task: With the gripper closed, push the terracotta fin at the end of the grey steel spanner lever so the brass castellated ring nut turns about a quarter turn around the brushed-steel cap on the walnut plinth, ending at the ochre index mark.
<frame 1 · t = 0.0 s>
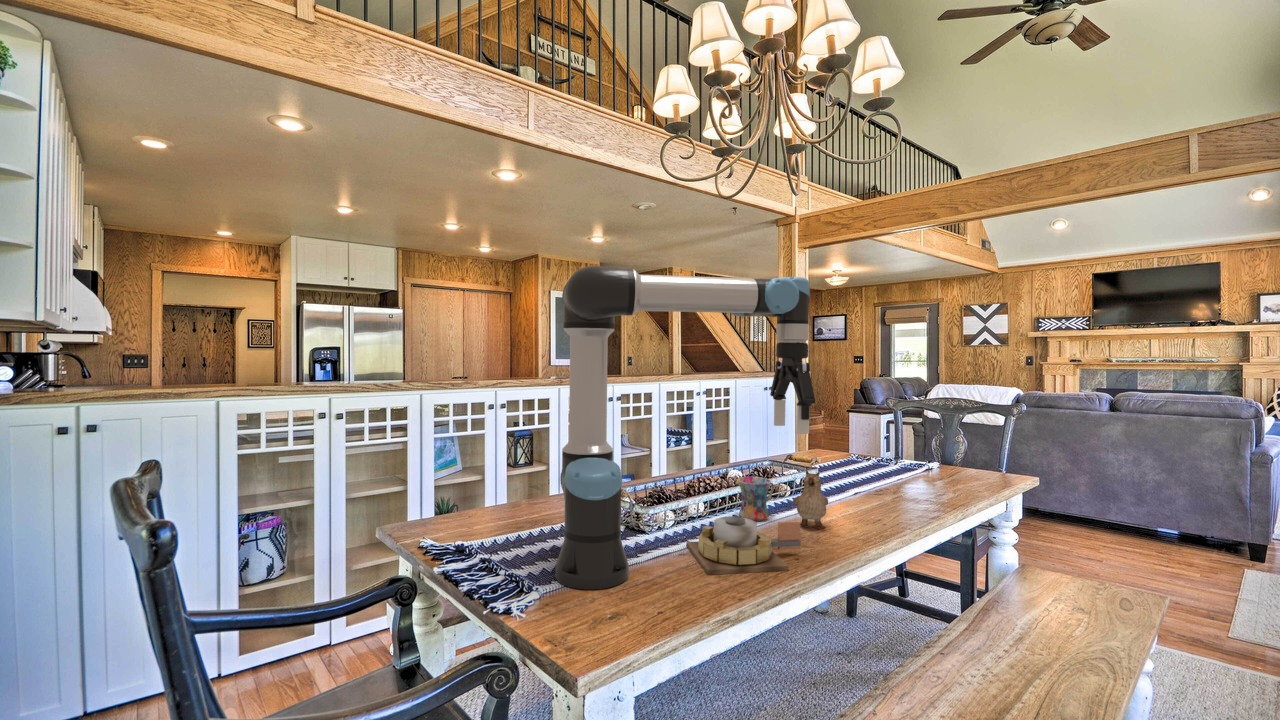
hand: (790, 429, 145), 28 cm above the table, fingers open, 13 cm apart
figurine: (810, 527, 160), on the table
mug: (757, 517, 168), on the table
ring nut: (750, 537, 136), point 4 cm above the table, hinge at 0.0°
housing: (734, 557, 136), on the table
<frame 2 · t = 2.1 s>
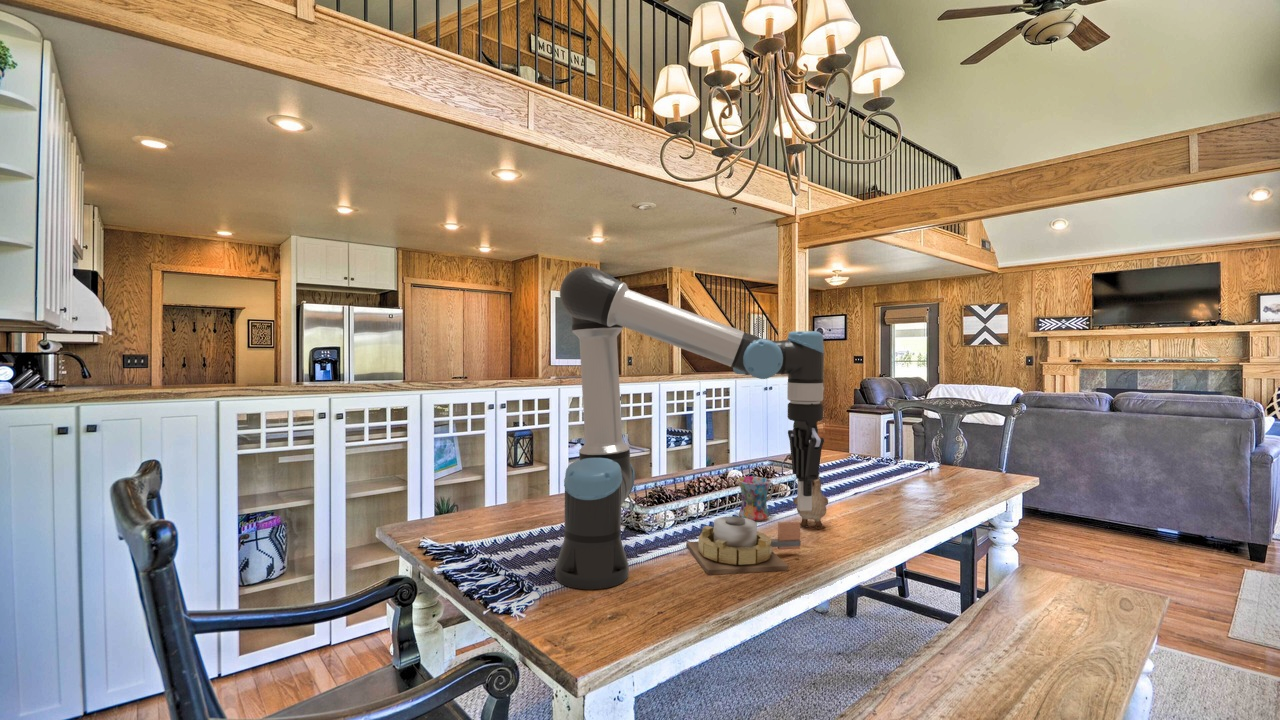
hand: (804, 509, 131), 13 cm above the table, fingers closed
nothing on the table moved.
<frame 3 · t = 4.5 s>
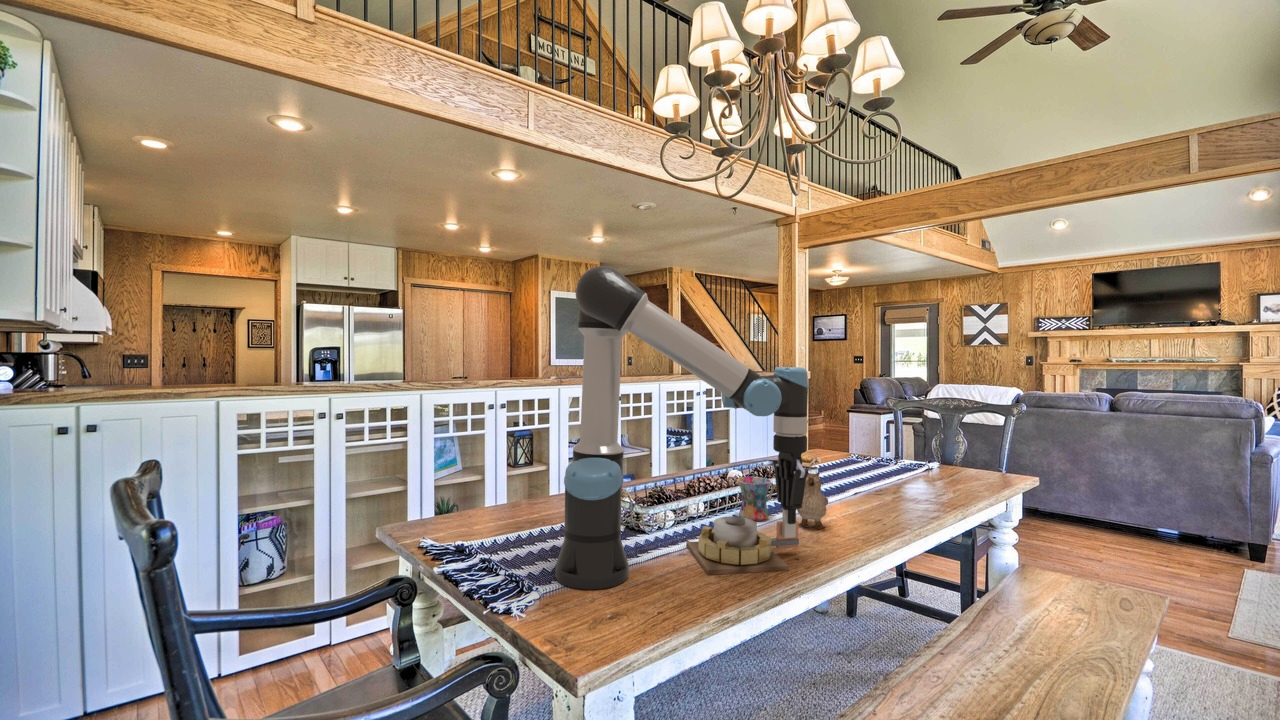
hand: (788, 536, 138), 4 cm above the table, fingers closed
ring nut: (750, 537, 137), point 4 cm above the table, hinge at 3.6°, touching gripper
everything else where it was.
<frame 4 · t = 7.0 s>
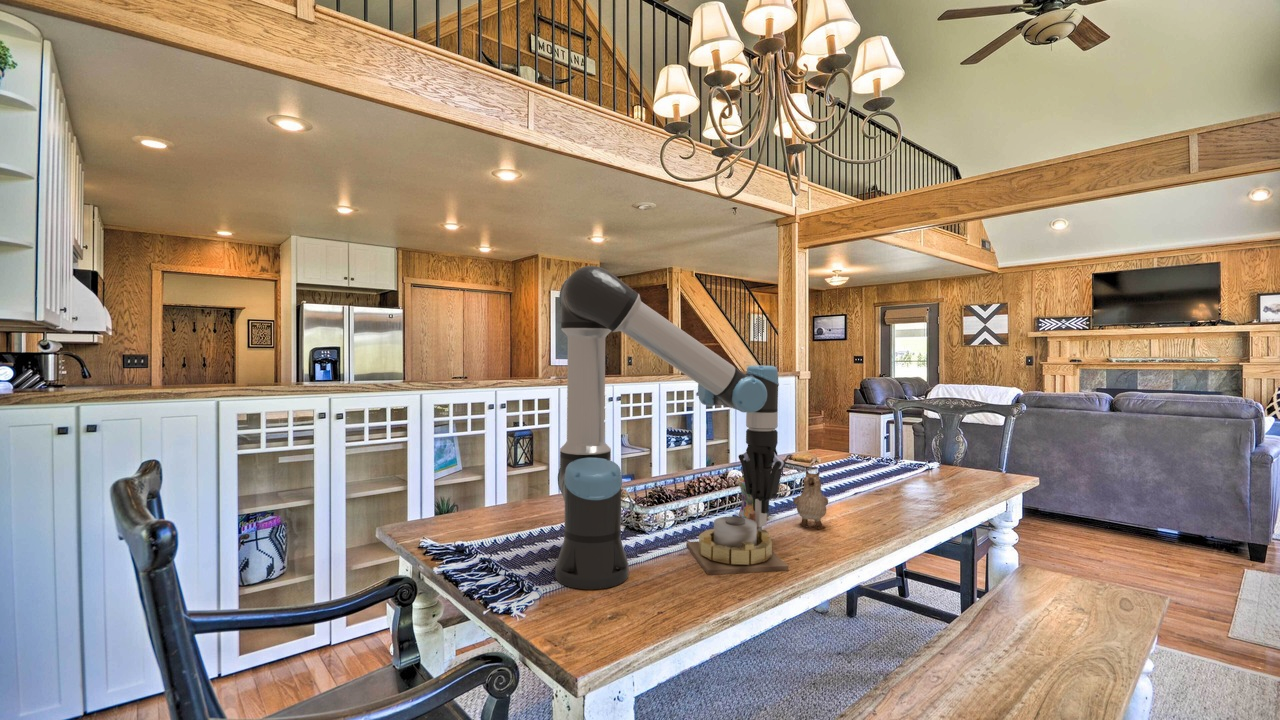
hand: (760, 525, 146), 4 cm above the table, fingers closed
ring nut: (741, 533, 139), point 4 cm above the table, hinge at 49.2°, touching gripper
everything else where it was.
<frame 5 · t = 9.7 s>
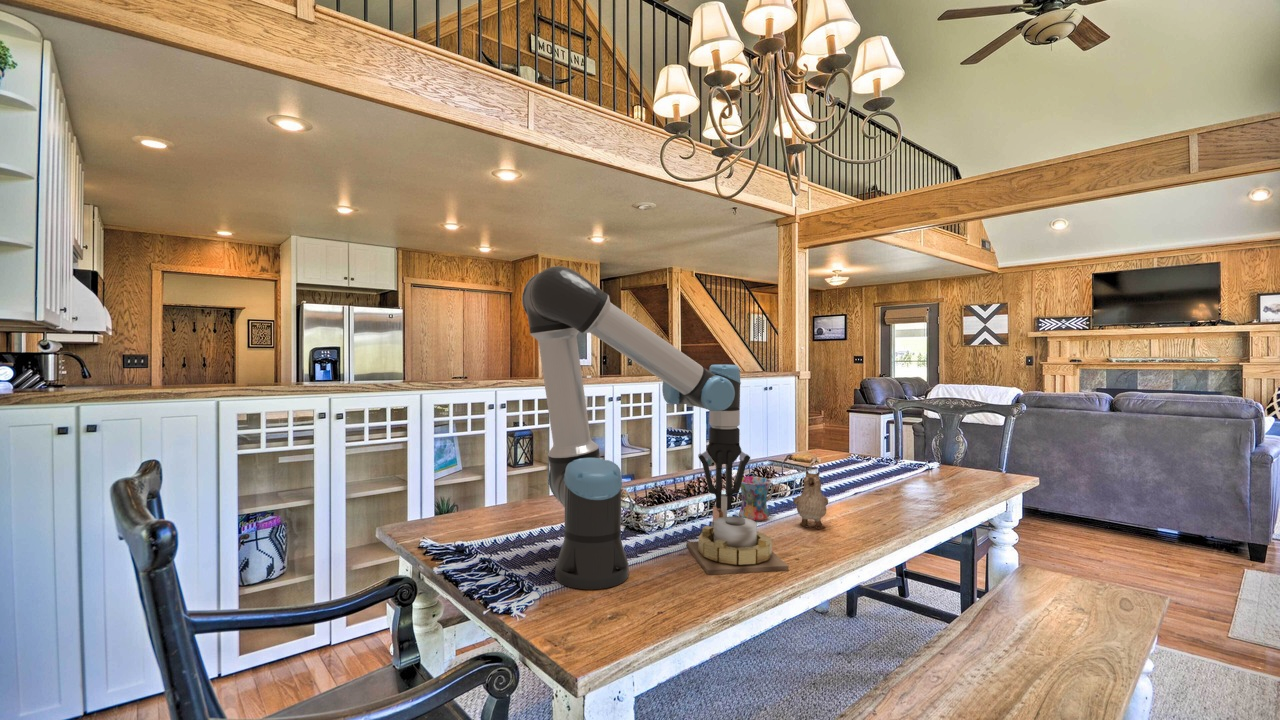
hand: (723, 521, 149), 4 cm above the table, fingers closed
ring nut: (729, 533, 139), point 4 cm above the table, hinge at 90.2°, touching gripper
everything else where it was.
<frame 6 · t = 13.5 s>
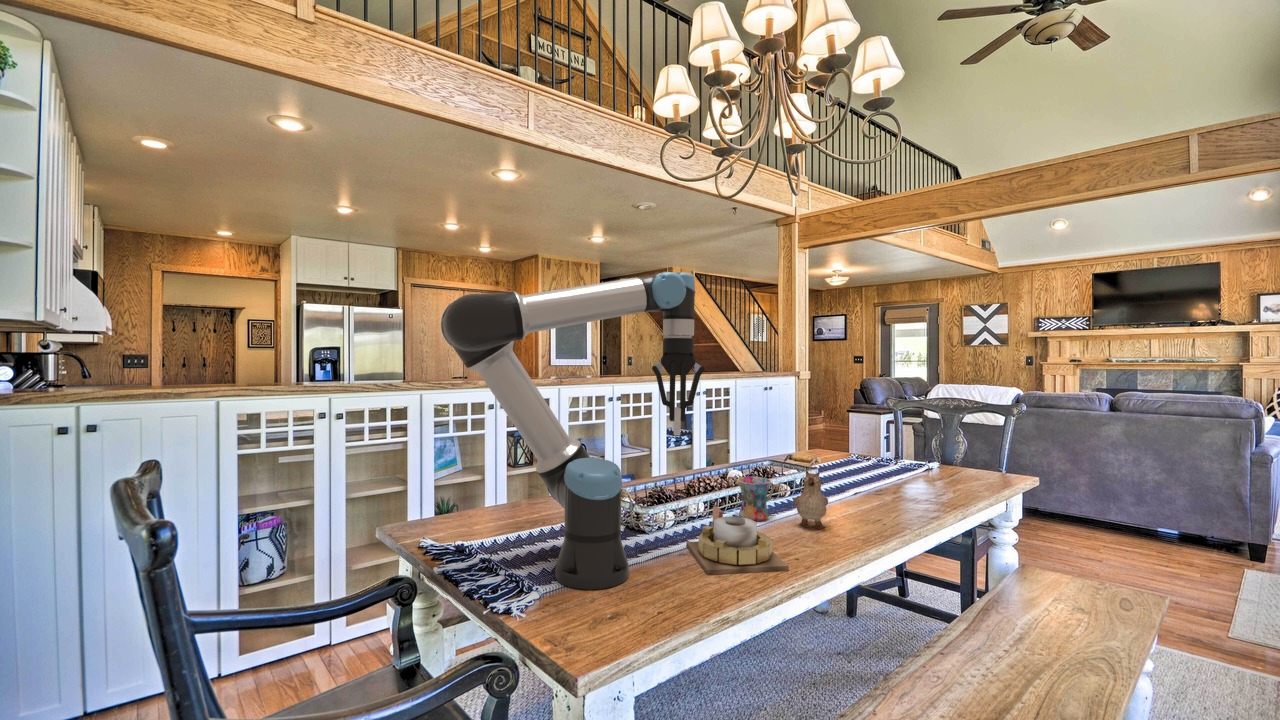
hand: (676, 434, 145), 26 cm above the table, fingers closed
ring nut: (729, 533, 139), point 4 cm above the table, hinge at 90.2°
everything else where it was.
at the end: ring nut at +90° (first picture: +0°); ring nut touching nothing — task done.
